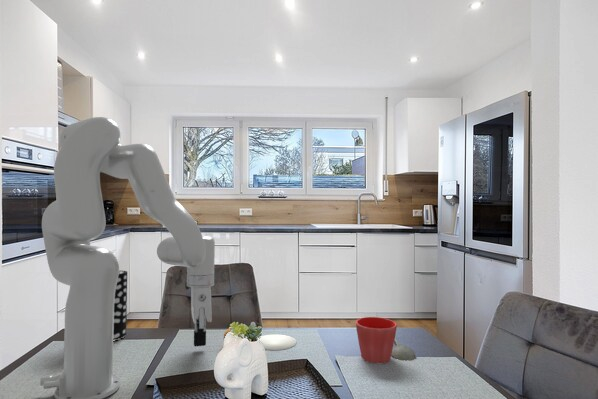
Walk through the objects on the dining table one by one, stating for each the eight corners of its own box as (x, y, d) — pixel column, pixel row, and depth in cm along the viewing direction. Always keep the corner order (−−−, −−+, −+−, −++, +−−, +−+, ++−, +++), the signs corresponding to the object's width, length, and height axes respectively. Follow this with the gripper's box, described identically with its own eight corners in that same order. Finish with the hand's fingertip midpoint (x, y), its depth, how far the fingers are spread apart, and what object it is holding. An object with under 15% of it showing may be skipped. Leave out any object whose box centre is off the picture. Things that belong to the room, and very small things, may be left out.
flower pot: (397, 368, 97) (397, 329, 97) (354, 364, 99) (354, 326, 100) (395, 352, 108) (395, 318, 108) (356, 349, 110) (356, 315, 110)
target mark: (258, 352, 107) (258, 351, 107) (249, 337, 119) (249, 336, 119) (302, 347, 111) (302, 346, 111) (288, 333, 123) (288, 332, 123)
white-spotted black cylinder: (131, 333, 121) (132, 270, 122) (116, 343, 113) (117, 275, 113) (106, 332, 122) (108, 270, 123) (90, 341, 114) (91, 274, 114)
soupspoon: (392, 365, 102) (417, 367, 102) (393, 352, 102) (418, 354, 102) (380, 334, 124) (400, 336, 124) (381, 324, 124) (401, 326, 124)
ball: (247, 344, 110) (229, 353, 108) (243, 337, 115) (226, 346, 113) (240, 327, 109) (222, 336, 107) (236, 321, 114) (219, 330, 113)
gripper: (217, 284, 102) (216, 353, 102) (211, 274, 117) (210, 335, 116) (188, 286, 100) (187, 356, 100) (185, 276, 114) (184, 337, 114)
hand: (199, 344), depth 108 cm, fingers closed
